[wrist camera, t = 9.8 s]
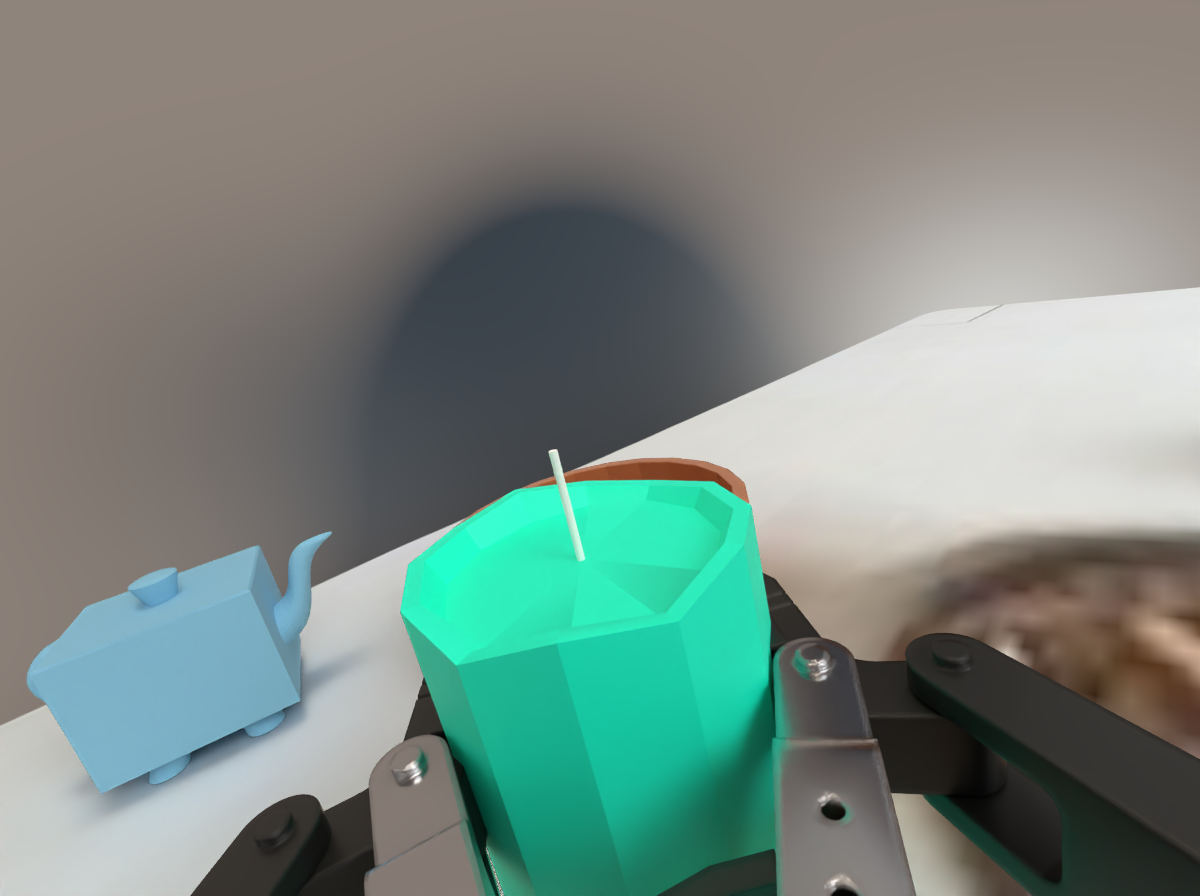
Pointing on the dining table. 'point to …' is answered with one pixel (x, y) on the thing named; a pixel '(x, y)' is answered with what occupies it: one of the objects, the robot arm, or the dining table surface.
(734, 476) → the pot
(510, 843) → the candle
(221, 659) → the teapot
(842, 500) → the dining table surface
